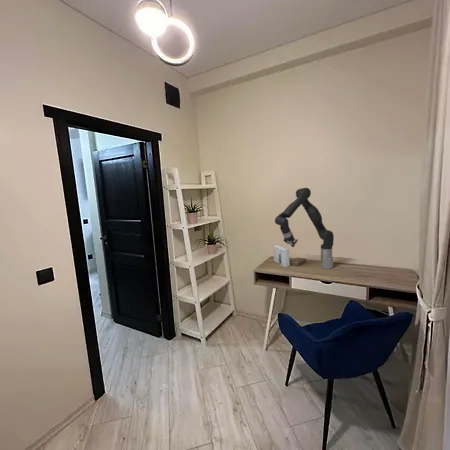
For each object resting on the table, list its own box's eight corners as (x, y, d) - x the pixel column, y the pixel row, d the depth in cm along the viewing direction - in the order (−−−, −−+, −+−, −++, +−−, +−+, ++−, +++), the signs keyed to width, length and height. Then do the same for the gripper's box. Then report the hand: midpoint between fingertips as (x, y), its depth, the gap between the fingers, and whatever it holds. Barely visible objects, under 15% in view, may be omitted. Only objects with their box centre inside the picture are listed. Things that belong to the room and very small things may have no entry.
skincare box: (273, 261, 251) (273, 245, 249) (278, 260, 253) (278, 244, 251) (284, 267, 231) (284, 250, 229) (290, 266, 233) (289, 249, 231)
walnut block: (297, 262, 230) (305, 258, 242) (289, 261, 236) (297, 257, 247) (297, 267, 231) (305, 262, 242) (289, 265, 236) (297, 261, 248)
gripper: (296, 231, 212) (301, 243, 223) (281, 230, 220) (287, 242, 231) (293, 238, 208) (299, 250, 219) (278, 236, 216) (285, 248, 227)
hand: (293, 246), depth 225 cm, fingers closed
